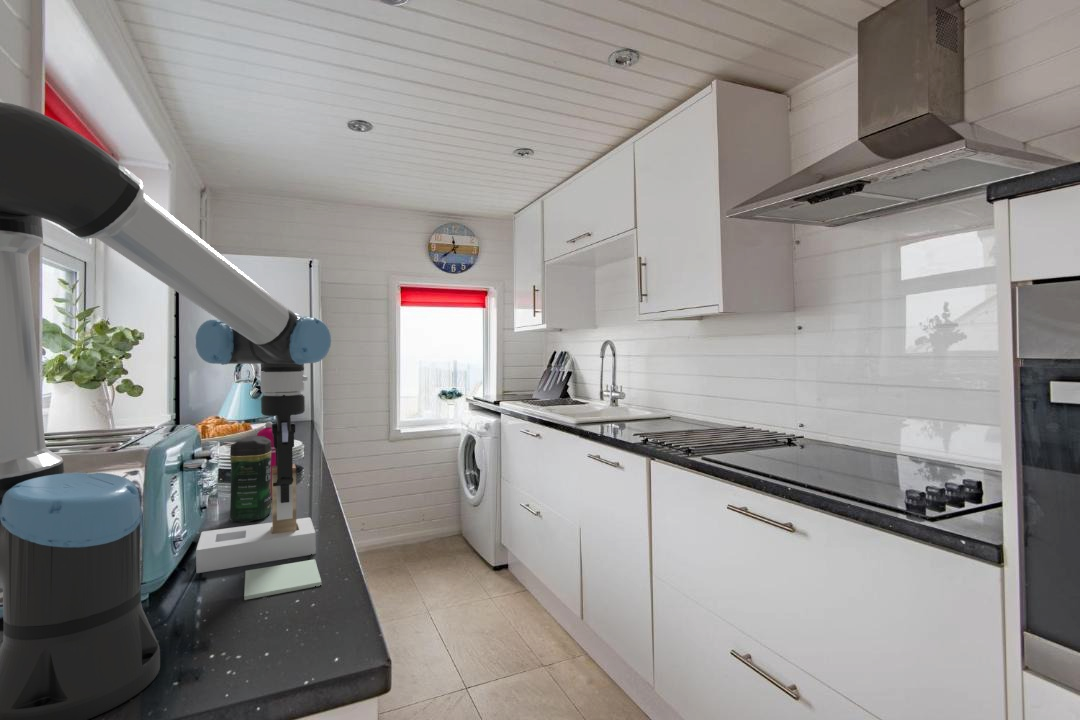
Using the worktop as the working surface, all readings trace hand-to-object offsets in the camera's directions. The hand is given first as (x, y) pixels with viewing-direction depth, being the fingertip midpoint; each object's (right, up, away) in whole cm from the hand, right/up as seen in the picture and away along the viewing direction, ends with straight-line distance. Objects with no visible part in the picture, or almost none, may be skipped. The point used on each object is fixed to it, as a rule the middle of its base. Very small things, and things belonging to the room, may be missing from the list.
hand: (284, 515), depth 104 cm
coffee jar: (-18, -7, +22) cm, 29 cm away
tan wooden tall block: (0, -6, 0) cm, 6 cm away
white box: (-4, -7, -2) cm, 8 cm away
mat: (+6, -7, -14) cm, 17 cm away
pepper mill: (-22, -7, +39) cm, 45 cm away
